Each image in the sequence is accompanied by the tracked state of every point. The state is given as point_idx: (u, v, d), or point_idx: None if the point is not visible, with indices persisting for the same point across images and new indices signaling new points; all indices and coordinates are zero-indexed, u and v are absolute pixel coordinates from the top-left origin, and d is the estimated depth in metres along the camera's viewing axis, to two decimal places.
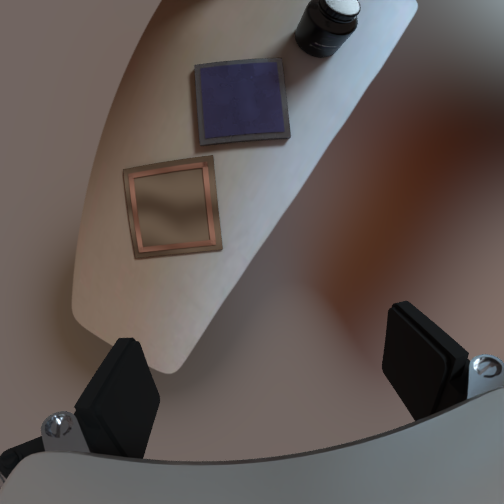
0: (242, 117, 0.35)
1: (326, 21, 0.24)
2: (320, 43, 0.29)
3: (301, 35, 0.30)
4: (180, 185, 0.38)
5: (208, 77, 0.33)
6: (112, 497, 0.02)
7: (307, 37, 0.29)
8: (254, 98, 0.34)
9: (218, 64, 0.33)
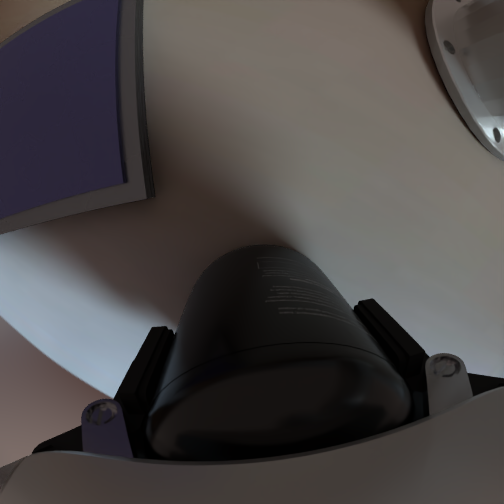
0: None
1: None
2: None
3: (220, 278, 0.09)
4: None
5: (88, 10, 0.08)
6: (112, 497, 0.02)
7: (193, 308, 0.08)
8: (21, 138, 0.09)
9: (125, 19, 0.08)
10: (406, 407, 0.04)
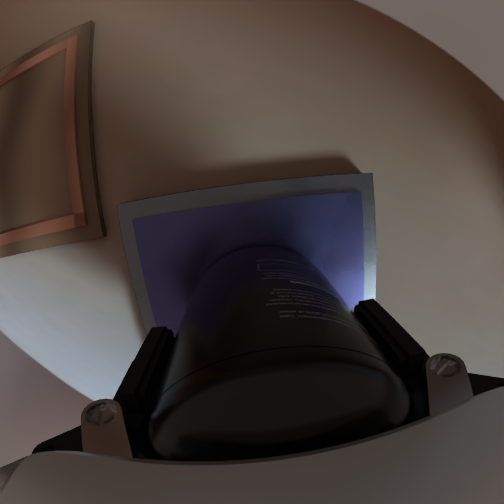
0: None
1: None
2: None
3: (220, 280, 0.09)
4: (41, 163, 0.12)
5: (329, 217, 0.12)
6: (112, 497, 0.02)
7: (193, 311, 0.08)
8: None
9: (368, 243, 0.13)
10: (406, 410, 0.04)
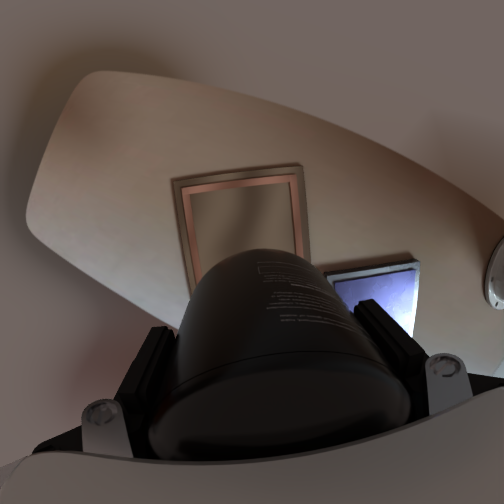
0: None
1: None
2: None
3: (220, 283, 0.09)
4: None
5: (404, 280, 0.30)
6: (112, 497, 0.02)
7: (193, 314, 0.08)
8: None
9: (415, 288, 0.30)
10: (408, 414, 0.04)
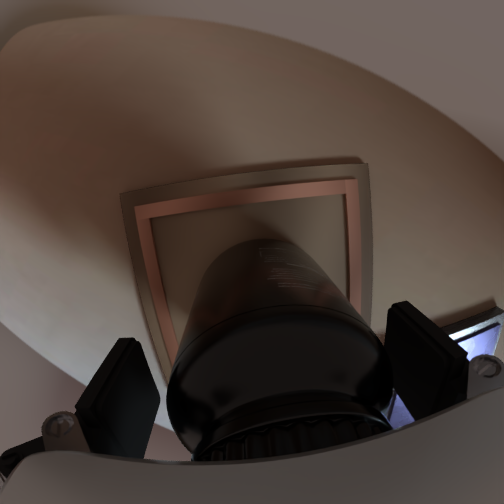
0: None
1: (203, 415, 0.06)
2: None
3: (228, 265, 0.11)
4: None
5: (486, 340, 0.16)
6: (112, 497, 0.02)
7: (206, 289, 0.10)
8: None
9: (494, 347, 0.17)
10: (381, 361, 0.06)
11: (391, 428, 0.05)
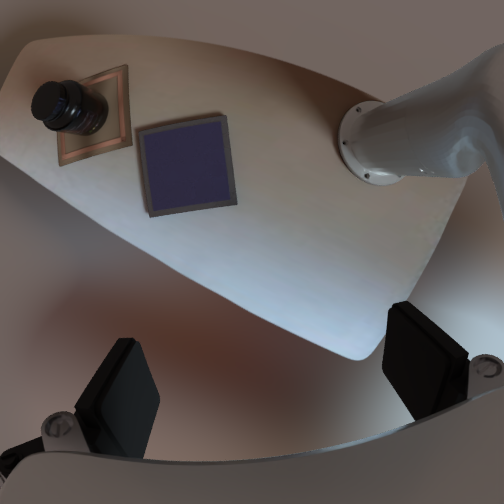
0: (164, 168, 0.35)
1: None
2: None
3: None
4: (107, 119, 0.34)
5: (208, 130, 0.34)
6: (112, 497, 0.02)
7: None
8: (185, 178, 0.36)
9: (225, 139, 0.35)
10: (74, 84, 0.24)
11: (64, 86, 0.23)
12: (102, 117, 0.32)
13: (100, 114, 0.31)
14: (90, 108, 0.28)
